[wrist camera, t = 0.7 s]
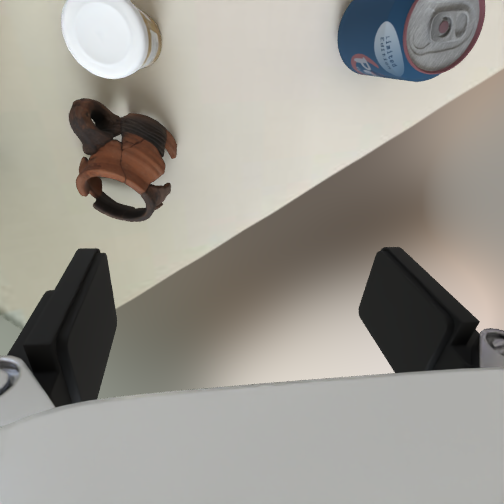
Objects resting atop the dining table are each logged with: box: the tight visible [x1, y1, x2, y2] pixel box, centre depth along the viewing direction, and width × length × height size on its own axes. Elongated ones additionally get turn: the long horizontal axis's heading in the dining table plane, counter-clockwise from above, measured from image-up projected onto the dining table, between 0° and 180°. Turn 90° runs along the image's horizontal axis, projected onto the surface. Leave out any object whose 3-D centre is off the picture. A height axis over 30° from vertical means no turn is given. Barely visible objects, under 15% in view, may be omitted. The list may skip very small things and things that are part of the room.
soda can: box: [338, 0, 485, 82], centre depth 28 cm, size 7×7×12 cm
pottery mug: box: [69, 98, 177, 222], centre depth 33 cm, size 12×10×8 cm
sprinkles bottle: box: [61, 0, 161, 79], centre depth 24 cm, size 5×5×14 cm
